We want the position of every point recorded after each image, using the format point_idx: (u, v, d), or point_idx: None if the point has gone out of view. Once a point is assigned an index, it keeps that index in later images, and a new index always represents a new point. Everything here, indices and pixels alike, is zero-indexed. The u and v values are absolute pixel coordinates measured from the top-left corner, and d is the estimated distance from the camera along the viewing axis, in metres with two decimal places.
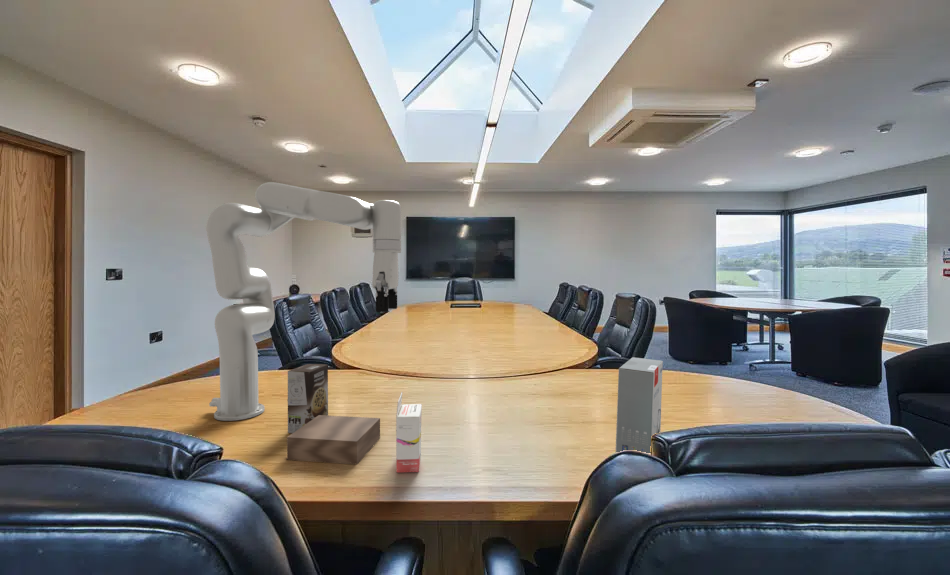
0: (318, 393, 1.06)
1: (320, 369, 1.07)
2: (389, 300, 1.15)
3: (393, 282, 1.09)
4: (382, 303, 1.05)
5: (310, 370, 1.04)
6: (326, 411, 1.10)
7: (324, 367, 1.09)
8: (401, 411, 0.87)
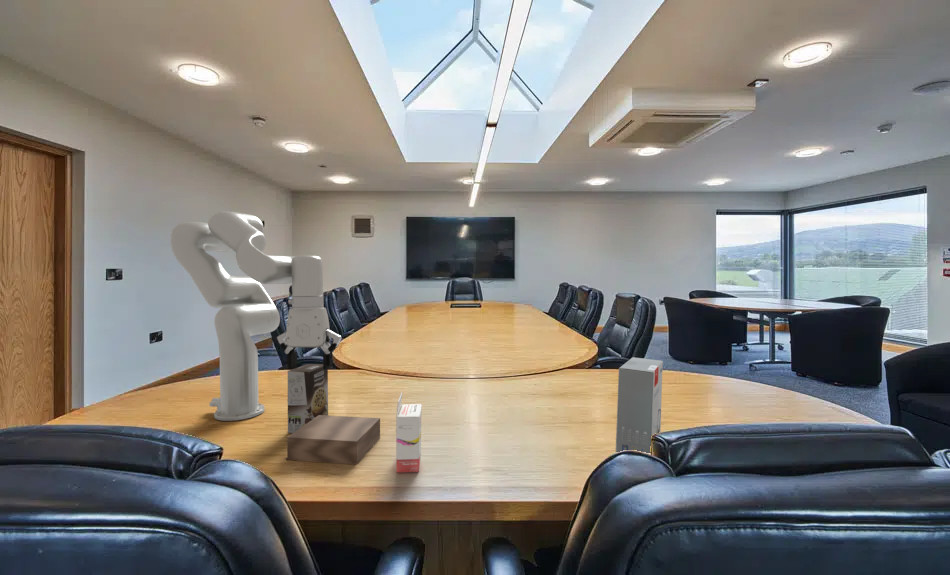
0: (318, 393, 1.06)
1: (320, 369, 1.07)
2: (292, 359, 1.07)
3: None
4: (331, 359, 1.07)
5: (310, 370, 1.04)
6: (326, 411, 1.10)
7: None
8: (401, 411, 0.87)
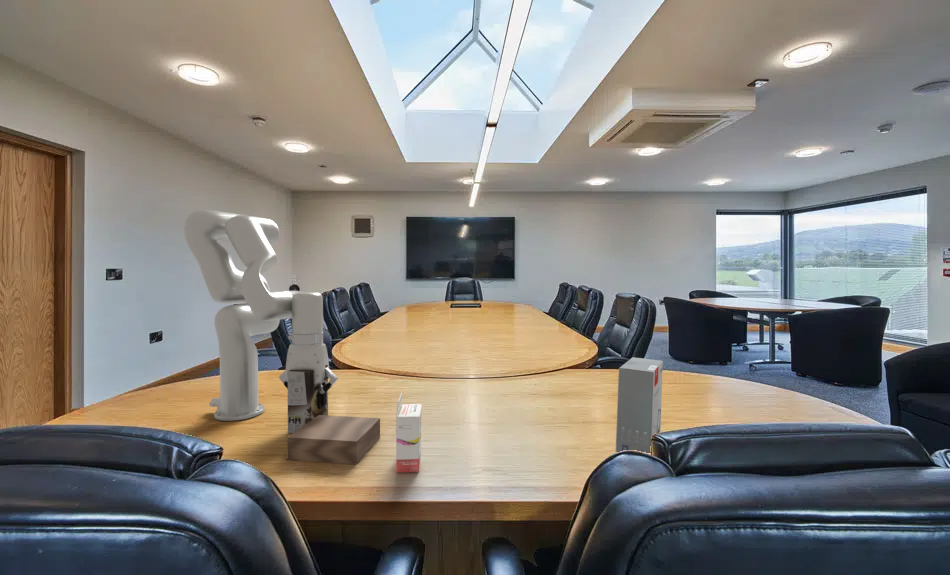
0: (318, 393, 1.06)
1: None
2: None
3: None
4: (326, 398, 1.07)
5: (310, 370, 1.04)
6: (326, 411, 1.10)
7: None
8: (401, 411, 0.87)
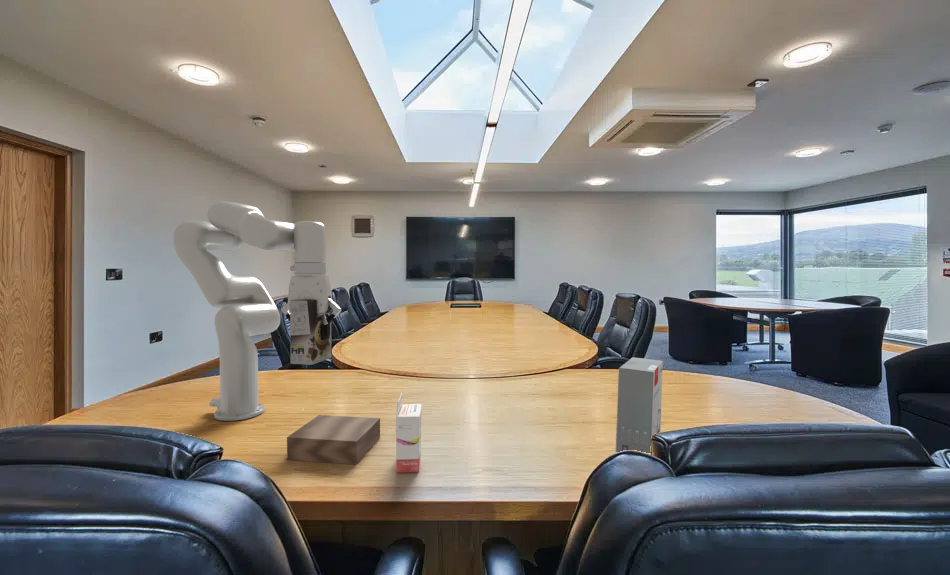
0: (321, 324, 1.04)
1: None
2: None
3: None
4: (329, 330, 1.05)
5: None
6: (329, 345, 1.08)
7: None
8: (401, 411, 0.87)
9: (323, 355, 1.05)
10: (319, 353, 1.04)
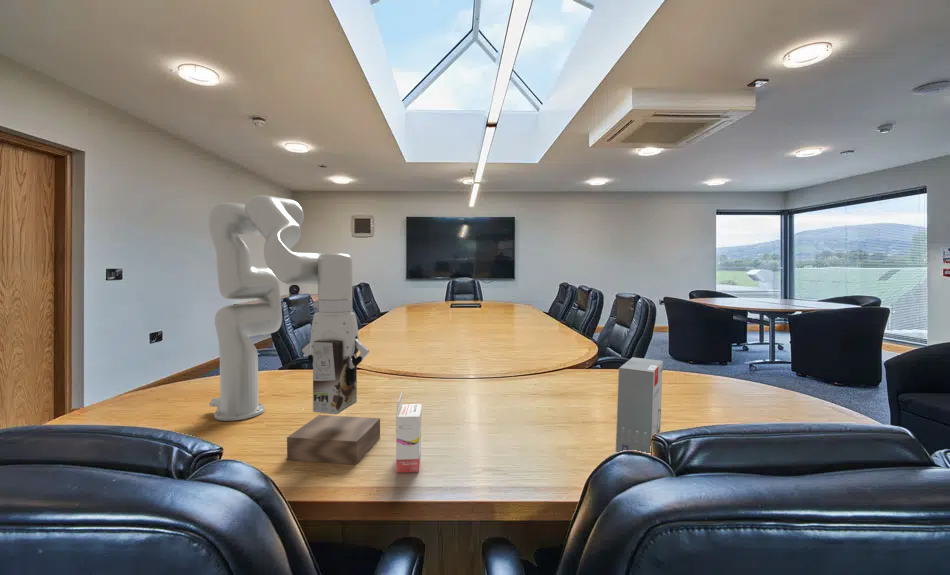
0: (347, 368, 0.94)
1: None
2: None
3: None
4: (355, 374, 0.95)
5: (339, 341, 0.91)
6: (355, 389, 0.98)
7: None
8: (401, 411, 0.87)
9: (348, 401, 0.95)
10: (345, 400, 0.93)
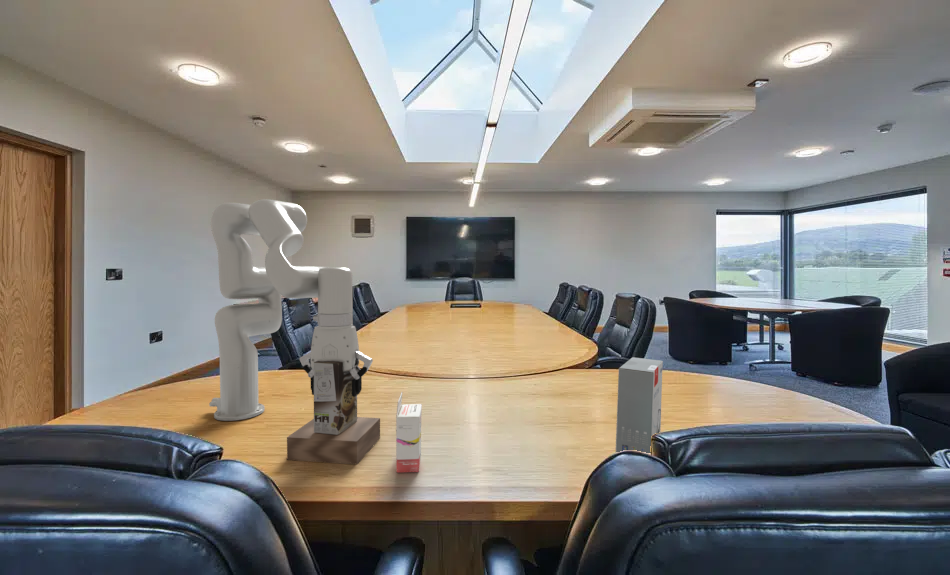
0: (348, 388, 0.94)
1: None
2: None
3: None
4: (360, 384, 0.94)
5: None
6: (355, 408, 0.98)
7: None
8: (401, 411, 0.87)
9: (349, 421, 0.95)
10: (345, 420, 0.93)
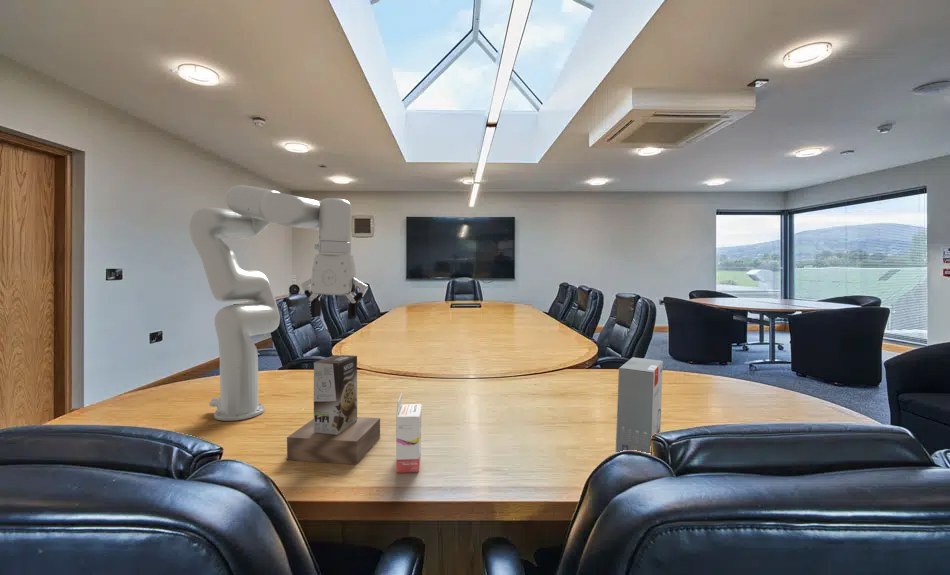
0: (348, 388, 0.94)
1: (349, 361, 0.95)
2: (316, 307, 1.03)
3: None
4: (356, 309, 1.02)
5: (339, 361, 0.91)
6: (355, 408, 0.98)
7: (354, 358, 0.97)
8: (401, 411, 0.87)
9: (349, 421, 0.95)
10: (345, 420, 0.93)
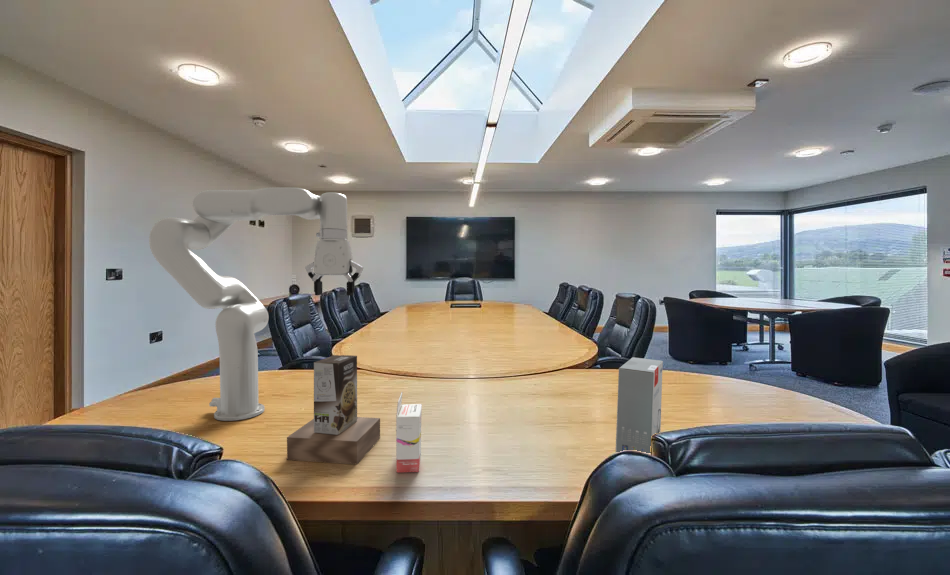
0: (348, 388, 0.94)
1: (349, 361, 0.95)
2: (319, 287, 1.19)
3: None
4: (353, 287, 1.19)
5: (339, 361, 0.91)
6: (355, 408, 0.98)
7: (354, 358, 0.97)
8: (401, 411, 0.87)
9: (349, 421, 0.95)
10: (345, 420, 0.93)
